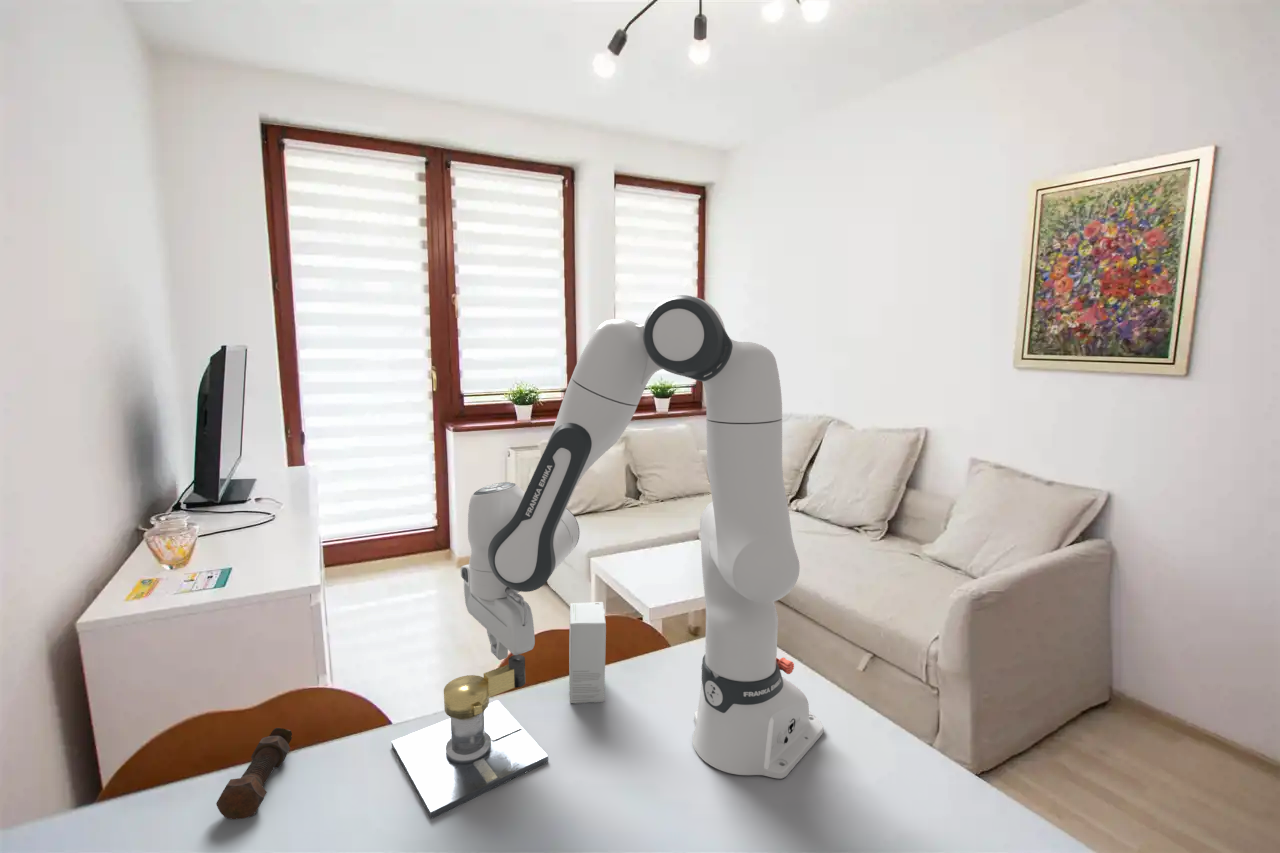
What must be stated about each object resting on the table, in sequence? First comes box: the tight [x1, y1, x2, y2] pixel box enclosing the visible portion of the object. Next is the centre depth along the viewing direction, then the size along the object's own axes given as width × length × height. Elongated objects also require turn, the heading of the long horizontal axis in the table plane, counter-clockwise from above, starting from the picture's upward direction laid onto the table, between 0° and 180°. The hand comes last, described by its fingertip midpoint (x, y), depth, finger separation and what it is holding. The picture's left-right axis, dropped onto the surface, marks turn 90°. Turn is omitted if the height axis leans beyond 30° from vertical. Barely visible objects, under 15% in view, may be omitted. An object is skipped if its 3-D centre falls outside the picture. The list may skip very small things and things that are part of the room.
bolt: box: [215, 727, 293, 820], centre depth 88 cm, size 6×5×15 cm
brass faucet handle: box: [443, 654, 526, 719], centre depth 94 cm, size 13×9×5 cm
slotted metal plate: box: [391, 699, 549, 819], centre depth 93 cm, size 18×18×8 cm
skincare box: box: [568, 601, 607, 704], centre depth 109 cm, size 8×7×16 cm
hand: (499, 655), depth 102 cm, fingers closed
